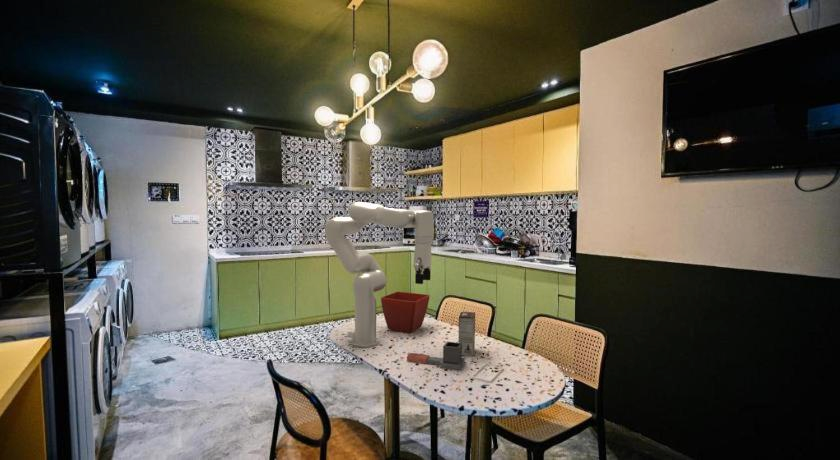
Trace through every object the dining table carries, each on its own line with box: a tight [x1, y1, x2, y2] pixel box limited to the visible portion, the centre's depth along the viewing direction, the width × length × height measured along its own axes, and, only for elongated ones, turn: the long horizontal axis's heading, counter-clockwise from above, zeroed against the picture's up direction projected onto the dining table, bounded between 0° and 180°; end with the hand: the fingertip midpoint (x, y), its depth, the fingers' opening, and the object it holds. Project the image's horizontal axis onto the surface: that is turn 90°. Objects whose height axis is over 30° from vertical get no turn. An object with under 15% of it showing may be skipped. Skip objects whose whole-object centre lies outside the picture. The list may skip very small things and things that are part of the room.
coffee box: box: [458, 311, 476, 356], centre depth 166 cm, size 9×6×16 cm
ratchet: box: [406, 352, 466, 371], centre depth 153 cm, size 22×8×6 cm, turn 72°
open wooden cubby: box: [442, 341, 463, 364], centre depth 151 cm, size 6×6×6 cm
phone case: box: [471, 362, 504, 384], centre depth 144 cm, size 7×1×15 cm
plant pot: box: [380, 291, 431, 334], centre depth 198 cm, size 19×19×17 cm
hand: (423, 281), depth 162 cm, fingers open, 9 cm apart
